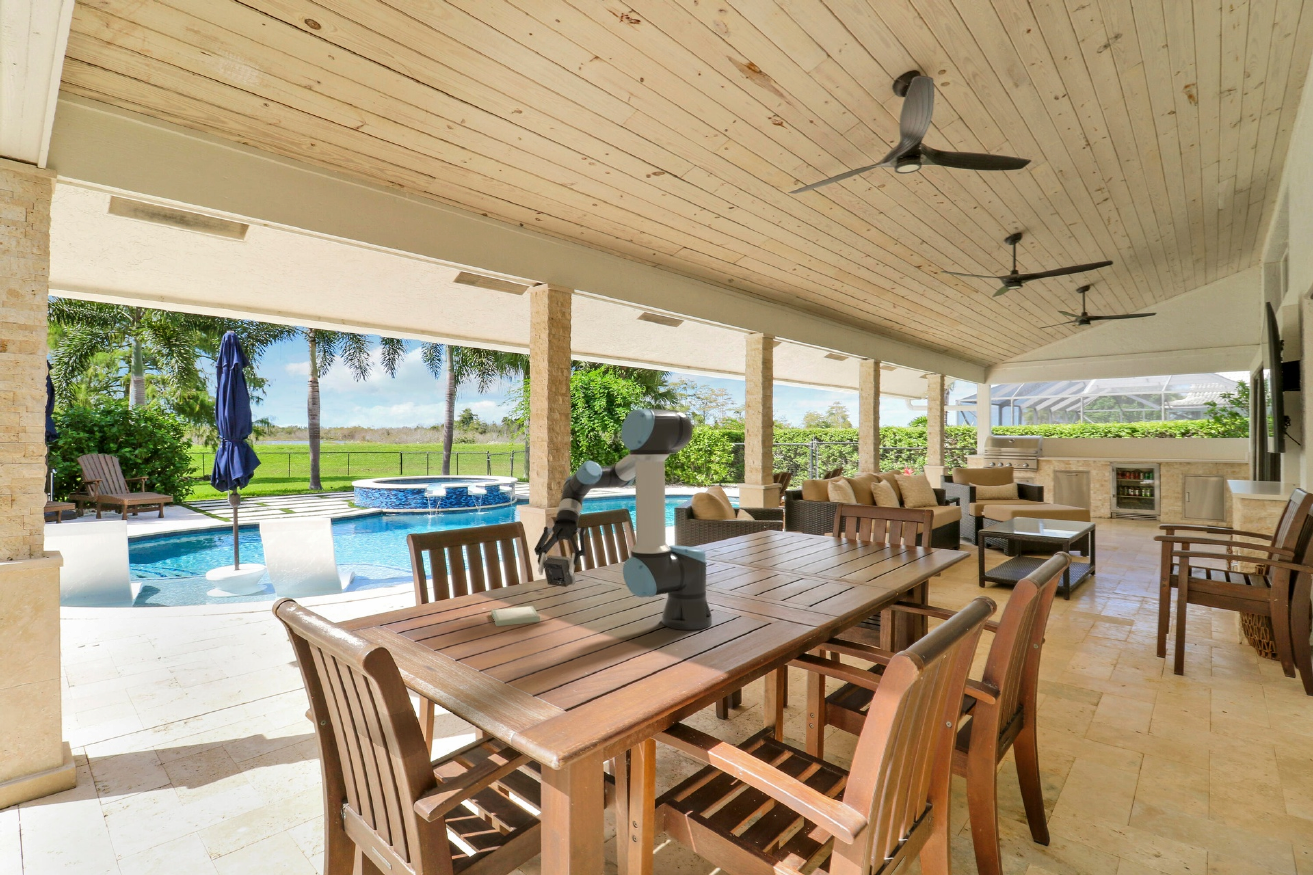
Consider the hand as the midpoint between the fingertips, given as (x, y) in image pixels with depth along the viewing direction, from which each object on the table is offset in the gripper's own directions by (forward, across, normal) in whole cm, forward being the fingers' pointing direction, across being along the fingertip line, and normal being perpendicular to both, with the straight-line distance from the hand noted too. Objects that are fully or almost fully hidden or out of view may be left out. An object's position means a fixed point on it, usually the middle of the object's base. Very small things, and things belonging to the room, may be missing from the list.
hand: (555, 572), depth 193 cm
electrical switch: (+1, 0, -6) cm, 6 cm away
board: (+10, +13, -10) cm, 19 cm away
